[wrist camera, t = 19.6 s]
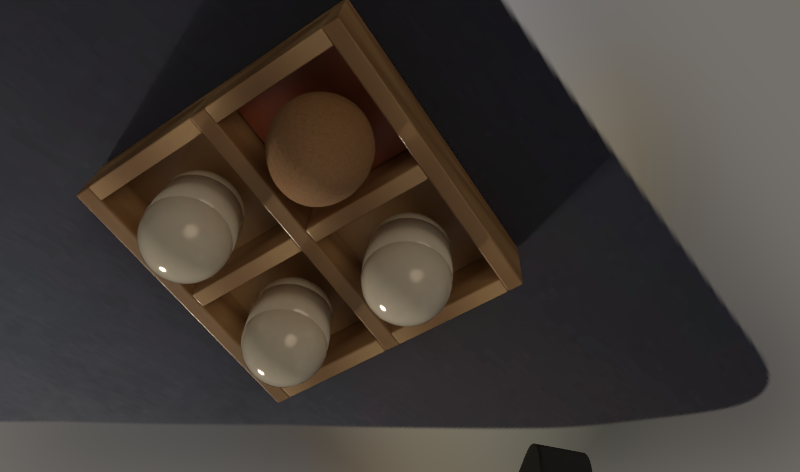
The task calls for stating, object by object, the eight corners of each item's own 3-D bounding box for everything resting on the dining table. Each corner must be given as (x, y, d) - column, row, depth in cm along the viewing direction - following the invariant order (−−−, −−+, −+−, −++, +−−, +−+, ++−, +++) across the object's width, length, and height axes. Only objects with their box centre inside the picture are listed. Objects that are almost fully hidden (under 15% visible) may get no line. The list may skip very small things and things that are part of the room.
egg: (269, 79, 32) (235, 135, 27) (372, 68, 31) (357, 123, 26) (289, 172, 34) (262, 240, 29) (386, 164, 34) (375, 232, 29)
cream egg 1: (215, 139, 34) (174, 202, 29) (270, 205, 35) (241, 276, 30) (152, 181, 35) (101, 249, 30) (208, 243, 37) (169, 317, 32)
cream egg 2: (306, 247, 36) (283, 323, 31) (353, 303, 38) (339, 384, 33) (244, 282, 38) (212, 360, 33) (292, 335, 39) (269, 418, 34)
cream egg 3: (422, 181, 34) (418, 251, 29) (467, 244, 36) (471, 321, 31) (352, 221, 36) (336, 294, 30) (399, 280, 37) (391, 359, 32)
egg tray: (347, -3, 31) (338, 16, 28) (518, 248, 37) (523, 284, 34) (103, 165, 35) (75, 195, 33) (288, 364, 41) (278, 403, 39)
